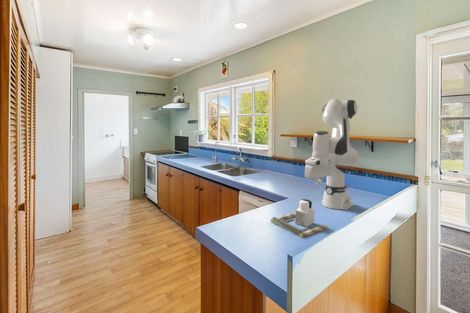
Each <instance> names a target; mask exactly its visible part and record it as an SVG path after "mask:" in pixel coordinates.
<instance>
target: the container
mask: <svg viewBox="0 0 470 313" xmlns="http://www.w3.org/2000/svg"><path fill="white" fill-rule="evenodd" d="M312 204H313V202H312V200H310V199H306V198H302V199H299V202H298V208H297V209H295V212H296V214H295V216H294V224H297V225H301V226H304V227H306V228H308V227H311V226H312V224H314V221H315V209H313V208H312Z"/></svg>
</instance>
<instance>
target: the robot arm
mask: <svg viewBox="0 0 470 313" xmlns="http://www.w3.org/2000/svg"><path fill="white" fill-rule="evenodd" d="M357 111H358V105H357V102H356V100H354V99H348V100H346V99H345V100H340V99H338V98H331V99H330V100H329V101H328V102H327V103H326V104H324V105H323V107H322V121H323V123H324V124H325V125H326V126H328V127H329V128H331V136H330V133H329V131H327V130H319V131H316V132H315V131H314V132H315V133H314V134H313V139H312V153H311V156H310V157H309V158H307V159H306V160H304V162H305V166H304V177H305V178H306V179H308V180H312V179H313V180H314V182H315V185H316V186H320V185H321V186H322V182H323V179H324V177H325V178H326V184H325V186H324V187H325V189H324V192H323V197H322V200H321V202H320V203H321V204H322V206H323V207H325V208H328V209H332V210H344V211H347V210H349V209H350V208H352V207H353V206H355V203H354V202H352V197H351V195H349V193H348V192H347V191H346V190H348V187H349V186H347V185H345V180H346V179H345V178H346V175H345V173H344V171H341V170H340V169H338V168H337V167H336V166H345V167H348V166H356V165H357V164H358V163H359V161H360V153H359V152H358V151H357V150H356V149H354V148H353V147H352V145H351V143H350V132H351V131H350V130H351V127H350V125H351V124H350V119H351V120H352V118H353V117H354V116H355V115H356V114H357V113H358V112H357Z"/></svg>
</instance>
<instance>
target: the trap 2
mask: <svg viewBox="0 0 470 313" xmlns="http://www.w3.org/2000/svg"><path fill="white" fill-rule="evenodd" d="M313 228H314V227H311V226H309V227H305V228H301V233H302V232H305V231H308V230H311V229H313Z"/></svg>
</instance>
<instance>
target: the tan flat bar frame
mask: <svg viewBox="0 0 470 313" xmlns="http://www.w3.org/2000/svg"><path fill="white" fill-rule="evenodd" d="M295 214H296V211H295V212H291V213H289V214H284V215H282V216H277V217H275V216H274V217H272V218H270V223H271V224H274V225H276V226H278V227H280V228H282V229H284V230H286V231H287V232H290V233H292V234H293V235H295V236H297V237H300V238H304V237H307V236H309V235H312V234H315V233H319V232H320V231H323V230H326V229H328V225H327V224H323V225H320V226H319V225H318V226H316V227H312V228H313V229H311V230H308V231H305V232H302V233H301V230H302V228H299V227H296V226H295V225H292V224H290V223H289V222H287V223H286V222H284V221H282V220H285V219H289V218H291V219H292V218H295Z"/></svg>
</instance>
